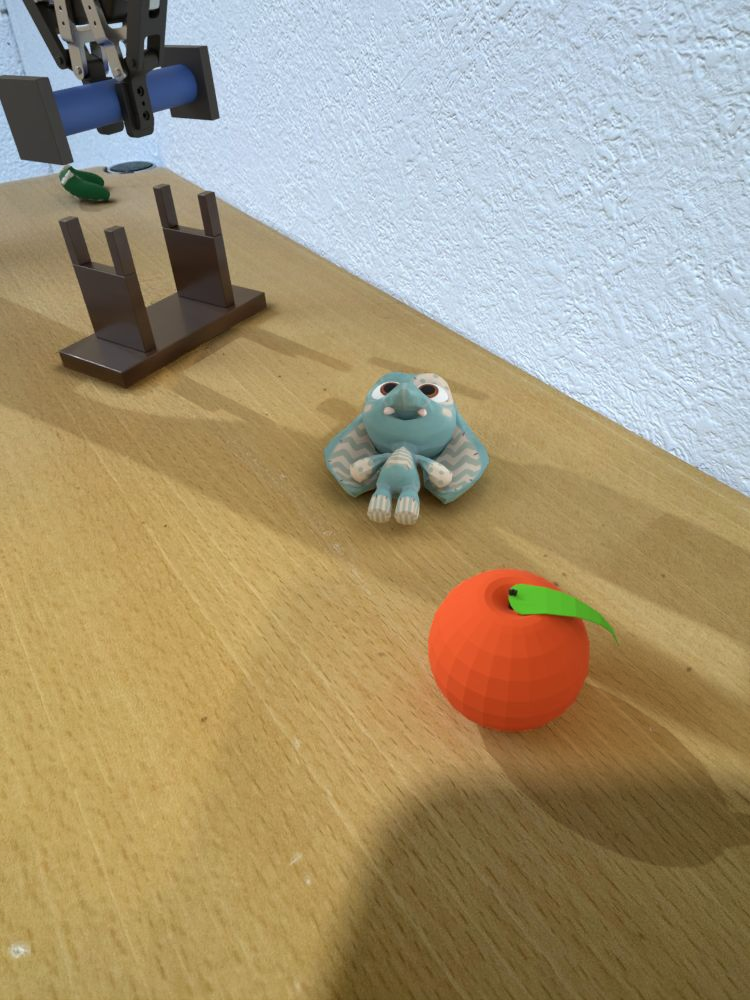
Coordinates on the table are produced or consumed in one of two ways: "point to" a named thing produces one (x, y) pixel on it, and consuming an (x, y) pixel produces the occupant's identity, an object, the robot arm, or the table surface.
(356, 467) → the stuffed animal
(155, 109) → the handle
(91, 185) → the green banana bunch
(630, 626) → the table surface
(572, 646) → the clementine
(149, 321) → the holder
